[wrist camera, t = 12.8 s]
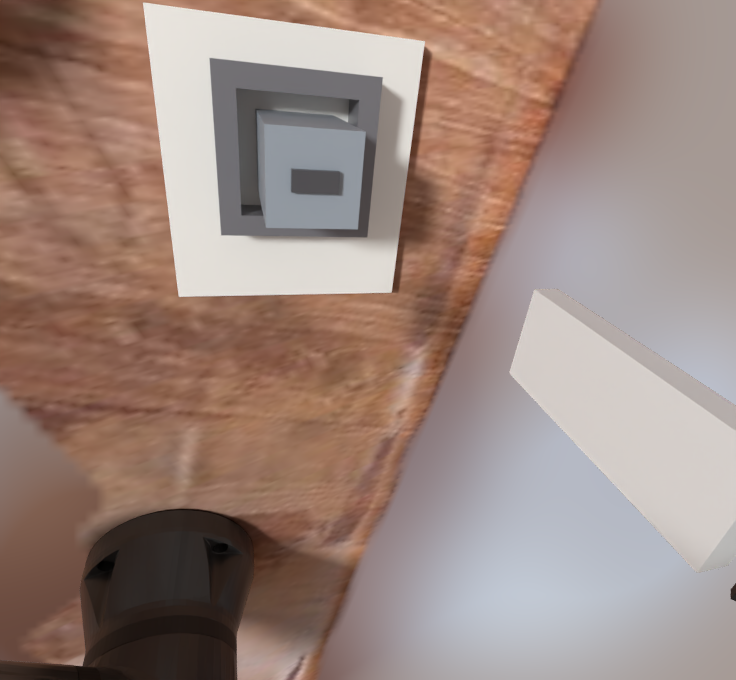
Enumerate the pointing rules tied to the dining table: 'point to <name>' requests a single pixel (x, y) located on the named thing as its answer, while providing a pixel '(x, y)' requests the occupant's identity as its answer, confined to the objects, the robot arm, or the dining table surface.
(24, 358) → the dining table surface
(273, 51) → the charging dock
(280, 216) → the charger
